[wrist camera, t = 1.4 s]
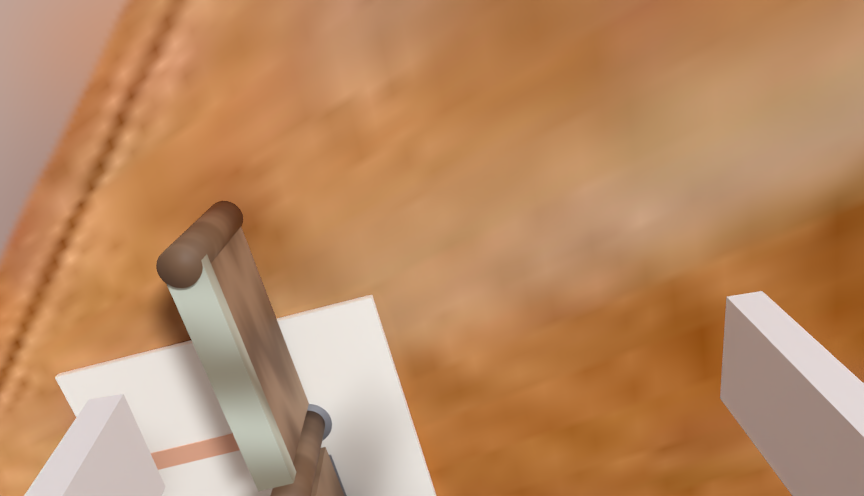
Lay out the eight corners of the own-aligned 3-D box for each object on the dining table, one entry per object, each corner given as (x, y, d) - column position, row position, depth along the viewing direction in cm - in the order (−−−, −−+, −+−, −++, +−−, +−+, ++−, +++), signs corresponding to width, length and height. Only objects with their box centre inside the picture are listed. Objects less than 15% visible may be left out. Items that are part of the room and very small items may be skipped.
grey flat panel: (313, 402, 37) (292, 487, 30) (284, 409, 37) (256, 495, 30) (235, 197, 33) (190, 243, 26) (202, 205, 33) (149, 254, 26)
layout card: (441, 510, 41) (441, 516, 41) (166, 574, 42) (163, 581, 42) (372, 294, 36) (371, 298, 35) (58, 373, 37) (53, 378, 36)
